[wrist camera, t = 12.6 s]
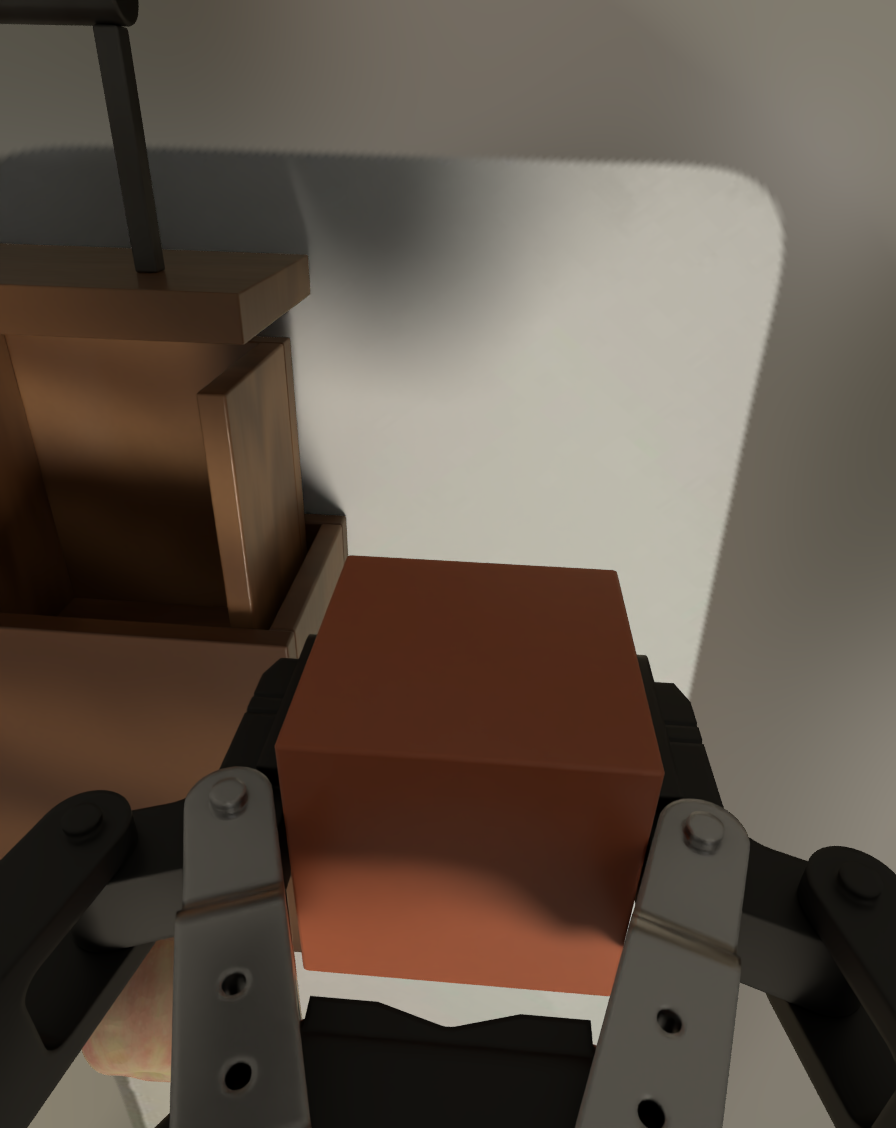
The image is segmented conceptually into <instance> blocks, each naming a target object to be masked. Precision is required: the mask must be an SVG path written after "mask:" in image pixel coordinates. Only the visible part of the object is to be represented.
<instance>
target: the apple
mask: <svg viewBox="0 0 896 1128" xmlns="http://www.w3.org/2000/svg"><path fill="white" fill-rule="evenodd" d="M173 966H174V941H170V940H158V941H156V942H155V944H154V946H153V947H152V948H151V950H150V951H149V953H148V954H147V956H146V957H145V959H144V960H143V961H142V963H141V964H140V966H139V967H138V969H137V970H136V972H135V973H134V974H133V976H132V977H131V979H130V980H129V982H128V983H127V985H126V986H125V987H124V989H123V990H122V992H121V993H120V995H119V996H118V997H117V999H116V1000H115V1002H114V1003H113V1005H112V1006H111V1008H110V1009H109V1010H108V1012H107V1013H106V1015H105V1016H104V1018H103V1019H102V1021H101V1022H100V1023H99V1025H98V1026H97V1028H96V1029H95V1031H94V1032H93V1034H92V1035H91V1036H90V1038H89V1039H88V1041H87V1042H86V1044H85V1045H84V1047H83V1048H82V1052H83V1055H84V1057H85V1059H86V1060H87V1062H88V1063H89V1065H90V1066H91V1067H92V1068H93V1069H94V1070H96V1071H97V1072H99V1073H101V1074H105V1075H120V1076H127V1077H133V1078H137V1079H141V1080H146V1081H158V1082H171V1048H172V1007H173Z"/></svg>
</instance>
